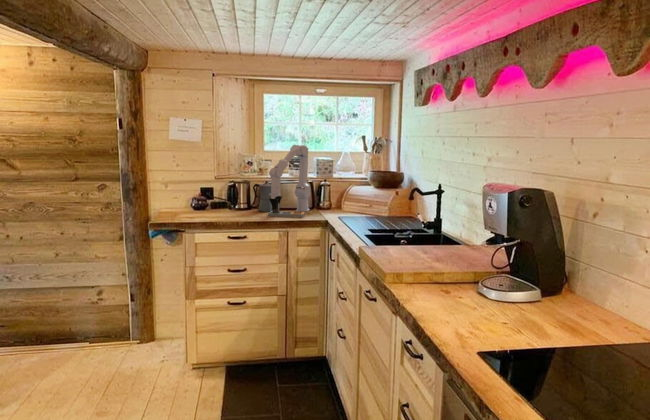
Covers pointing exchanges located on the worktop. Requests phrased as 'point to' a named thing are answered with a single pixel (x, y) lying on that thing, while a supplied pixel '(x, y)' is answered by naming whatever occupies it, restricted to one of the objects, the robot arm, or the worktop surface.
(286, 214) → the grey rectangular frame
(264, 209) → the moka pot
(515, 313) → the worktop surface
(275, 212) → the block
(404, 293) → the worktop surface
